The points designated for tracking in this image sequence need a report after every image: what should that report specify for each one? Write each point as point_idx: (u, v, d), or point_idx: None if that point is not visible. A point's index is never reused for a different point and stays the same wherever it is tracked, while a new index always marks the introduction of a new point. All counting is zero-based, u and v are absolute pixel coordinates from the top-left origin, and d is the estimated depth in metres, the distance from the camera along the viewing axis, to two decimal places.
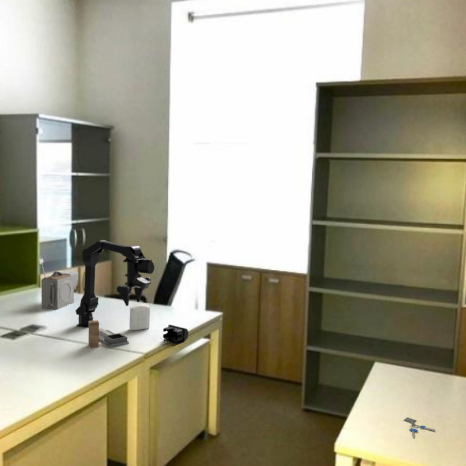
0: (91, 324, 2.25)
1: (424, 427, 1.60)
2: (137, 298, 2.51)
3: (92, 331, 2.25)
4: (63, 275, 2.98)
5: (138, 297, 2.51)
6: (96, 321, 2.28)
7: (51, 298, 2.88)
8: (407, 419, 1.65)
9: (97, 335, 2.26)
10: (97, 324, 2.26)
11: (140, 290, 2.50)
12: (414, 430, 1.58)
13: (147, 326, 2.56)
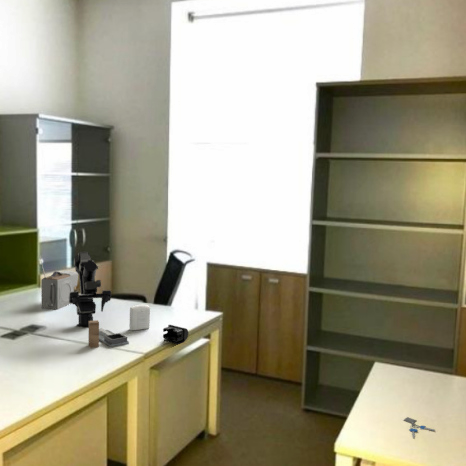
0: (91, 324, 2.25)
1: (424, 427, 1.60)
2: (101, 308, 2.37)
3: (92, 331, 2.25)
4: (63, 275, 2.99)
5: (101, 307, 2.37)
6: (96, 321, 2.28)
7: (51, 298, 2.88)
8: (407, 419, 1.65)
9: (97, 335, 2.26)
10: (97, 324, 2.26)
11: (102, 299, 2.38)
12: (414, 430, 1.58)
13: (147, 326, 2.56)
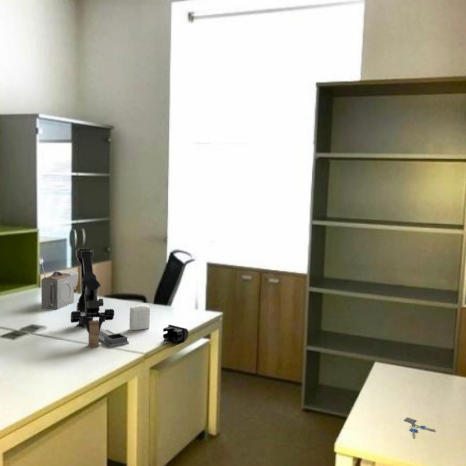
0: (91, 324, 2.25)
1: (424, 427, 1.60)
2: None
3: (92, 331, 2.25)
4: (63, 275, 2.99)
5: None
6: (96, 321, 2.28)
7: (51, 298, 2.88)
8: (407, 419, 1.65)
9: (97, 335, 2.26)
10: (97, 324, 2.26)
11: (99, 319, 2.30)
12: (414, 430, 1.58)
13: (147, 326, 2.56)
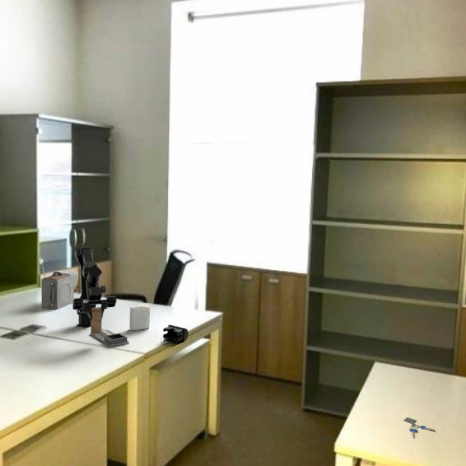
0: (94, 311, 2.25)
1: (424, 427, 1.60)
2: None
3: (94, 317, 2.25)
4: (63, 275, 2.98)
5: None
6: (98, 308, 2.27)
7: (51, 298, 2.88)
8: (407, 419, 1.65)
9: (100, 322, 2.26)
10: (100, 311, 2.26)
11: (101, 306, 2.30)
12: (414, 430, 1.58)
13: (147, 326, 2.56)
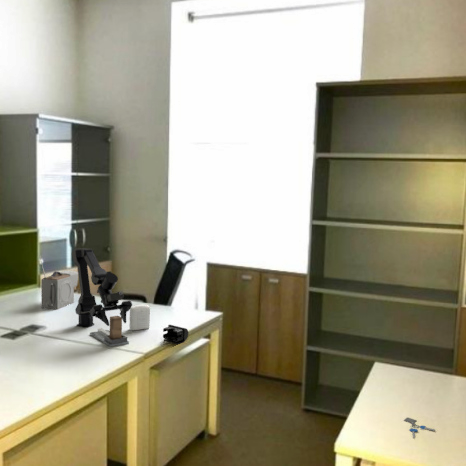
0: (115, 319, 2.30)
1: (424, 427, 1.60)
2: (123, 320, 2.35)
3: (116, 326, 2.30)
4: (63, 275, 2.99)
5: (123, 318, 2.35)
6: (118, 316, 2.33)
7: (51, 298, 2.88)
8: (407, 419, 1.65)
9: (120, 330, 2.32)
10: (120, 319, 2.31)
11: (123, 310, 2.36)
12: (414, 430, 1.58)
13: (147, 326, 2.56)
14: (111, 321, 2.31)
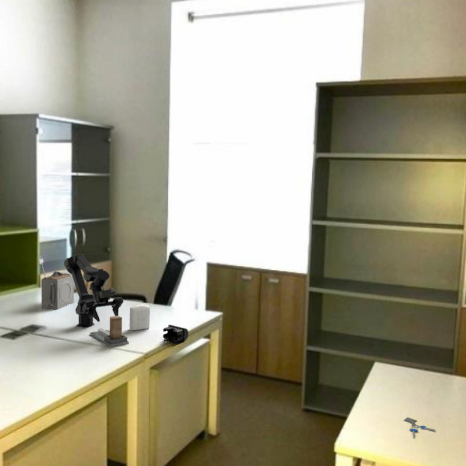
0: (115, 319, 2.30)
1: (424, 427, 1.60)
2: (115, 315, 2.42)
3: (116, 326, 2.30)
4: (63, 275, 2.99)
5: (116, 314, 2.42)
6: (118, 316, 2.33)
7: (51, 298, 2.88)
8: (407, 419, 1.65)
9: (120, 330, 2.32)
10: (120, 319, 2.31)
11: (115, 307, 2.43)
12: (414, 430, 1.58)
13: (147, 326, 2.56)
14: (111, 321, 2.31)
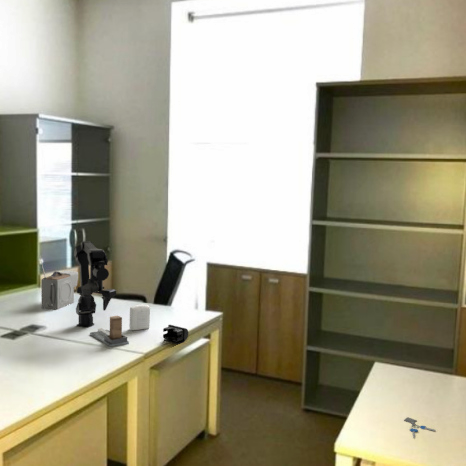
0: (115, 319, 2.30)
1: (424, 427, 1.60)
2: None
3: (116, 326, 2.30)
4: (63, 275, 2.99)
5: None
6: (118, 316, 2.33)
7: (51, 298, 2.88)
8: (407, 419, 1.65)
9: (120, 330, 2.32)
10: (120, 319, 2.31)
11: None
12: (414, 430, 1.58)
13: (147, 326, 2.56)
14: (111, 321, 2.31)
